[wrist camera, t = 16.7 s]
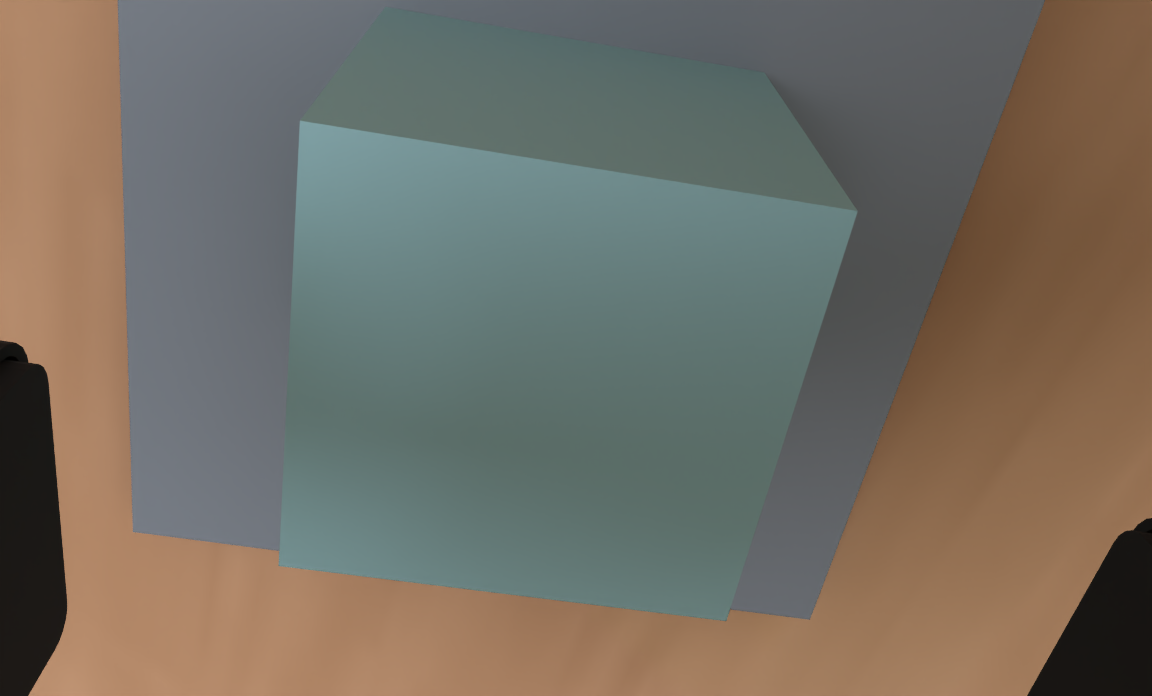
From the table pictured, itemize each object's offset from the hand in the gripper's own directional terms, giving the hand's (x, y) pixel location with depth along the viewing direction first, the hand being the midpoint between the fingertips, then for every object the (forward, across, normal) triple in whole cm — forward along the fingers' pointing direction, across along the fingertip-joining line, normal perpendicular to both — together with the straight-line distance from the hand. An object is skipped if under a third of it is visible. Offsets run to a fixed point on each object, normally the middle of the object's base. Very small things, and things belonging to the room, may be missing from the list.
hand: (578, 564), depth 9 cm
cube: (+9, 0, +1) cm, 9 cm away
